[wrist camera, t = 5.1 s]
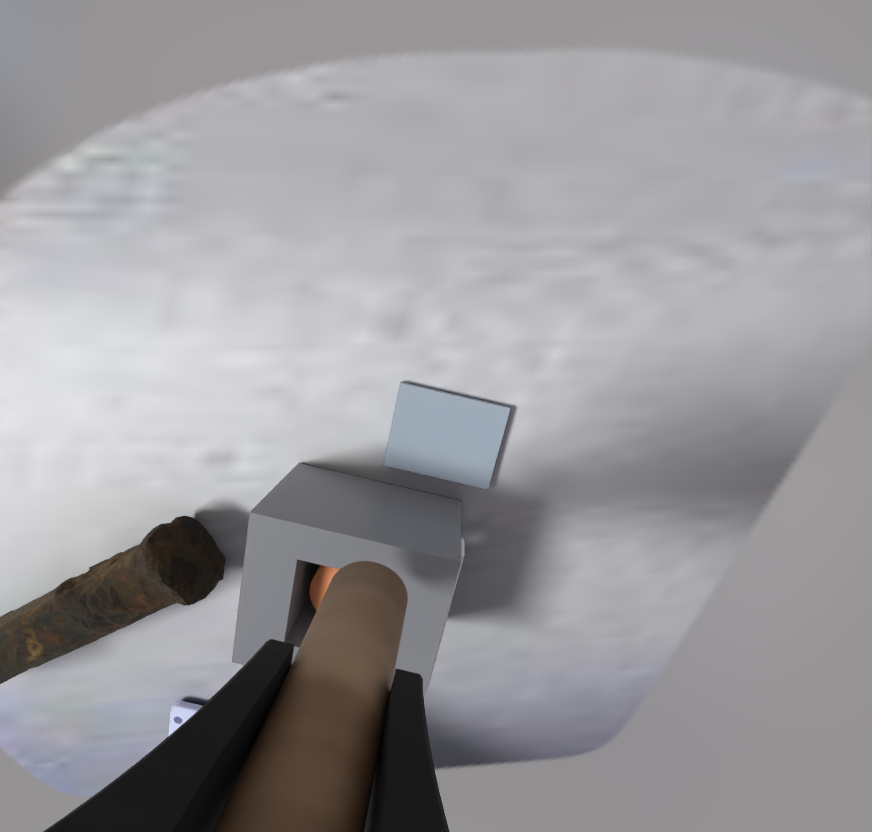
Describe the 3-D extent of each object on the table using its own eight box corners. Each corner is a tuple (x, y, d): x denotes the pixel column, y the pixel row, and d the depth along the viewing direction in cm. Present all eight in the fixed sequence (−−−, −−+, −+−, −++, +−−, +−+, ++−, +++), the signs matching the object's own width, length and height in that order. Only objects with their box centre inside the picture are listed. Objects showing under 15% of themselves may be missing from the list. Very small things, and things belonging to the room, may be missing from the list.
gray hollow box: (433, 620, 23) (424, 707, 18) (280, 585, 23) (232, 661, 18) (465, 501, 21) (465, 562, 16) (299, 463, 21) (249, 512, 16)
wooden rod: (399, 636, 15) (302, 1136, 6) (323, 619, 15) (114, 1091, 6) (415, 571, 14) (330, 1031, 5) (335, 552, 14) (117, 980, 5)
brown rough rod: (197, 499, 22) (129, 551, 18) (239, 563, 23) (184, 628, 19) (-68, 620, 25) (-182, 689, 21) (-22, 672, 26) (-123, 749, 22)
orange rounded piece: (387, 598, 21) (378, 635, 19) (322, 582, 21) (304, 618, 19) (400, 540, 20) (392, 571, 18) (332, 524, 20) (315, 553, 18)
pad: (487, 486, 21) (487, 489, 20) (384, 463, 21) (383, 465, 20) (509, 407, 20) (510, 408, 19) (400, 381, 20) (400, 382, 19)
